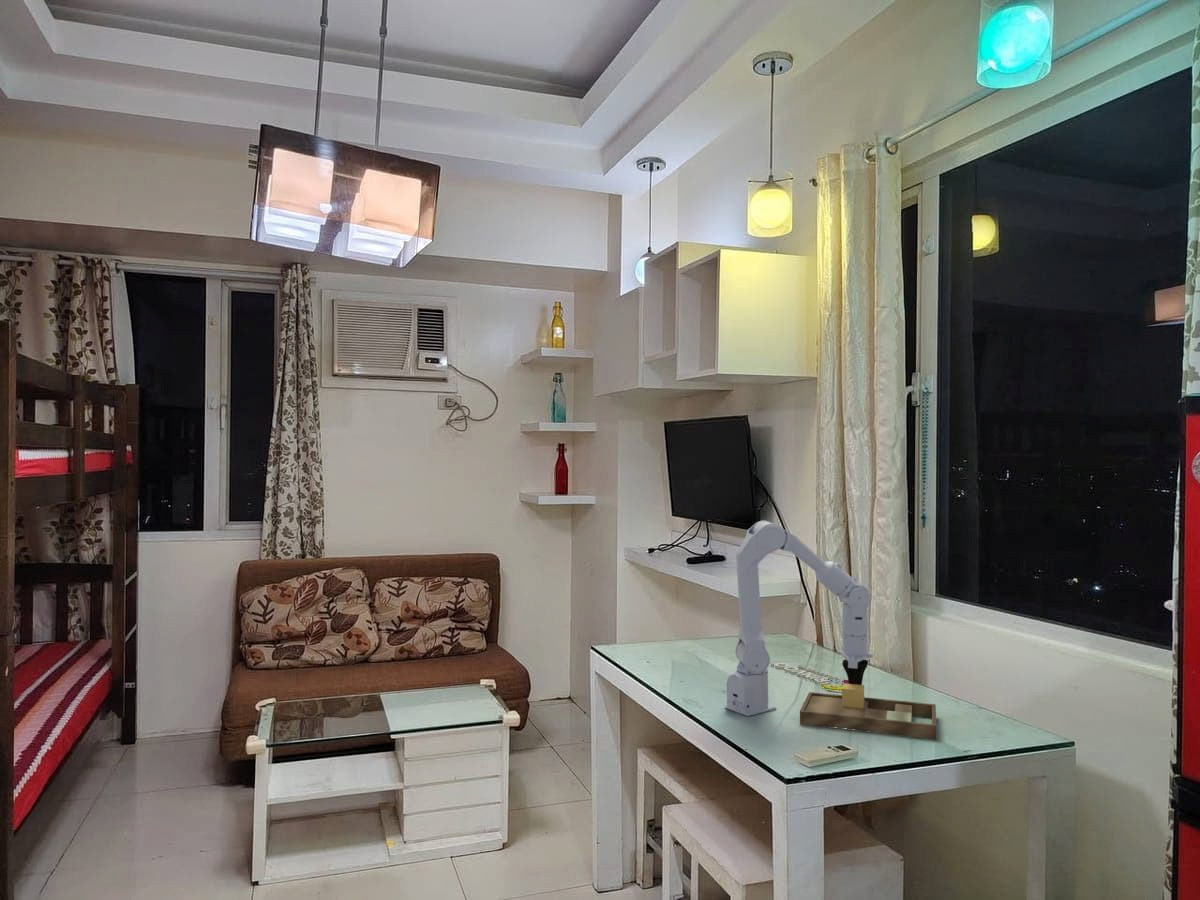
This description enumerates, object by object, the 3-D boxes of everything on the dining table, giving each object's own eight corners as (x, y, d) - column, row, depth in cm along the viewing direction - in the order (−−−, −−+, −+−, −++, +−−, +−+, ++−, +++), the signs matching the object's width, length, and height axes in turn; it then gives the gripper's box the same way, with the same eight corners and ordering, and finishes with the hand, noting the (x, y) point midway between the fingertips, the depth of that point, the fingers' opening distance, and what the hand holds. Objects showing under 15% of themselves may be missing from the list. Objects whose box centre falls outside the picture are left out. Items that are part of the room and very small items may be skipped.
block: (842, 706, 187) (841, 688, 187) (843, 700, 191) (843, 683, 191) (862, 708, 185) (862, 690, 185) (864, 702, 189) (864, 685, 189)
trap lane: (799, 724, 182) (799, 711, 182) (809, 704, 196) (809, 691, 196) (936, 739, 171) (936, 725, 171) (935, 717, 186) (935, 704, 186)
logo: (867, 686, 208) (836, 691, 204) (867, 690, 208) (836, 695, 204) (794, 660, 235) (765, 664, 231) (794, 663, 235) (766, 668, 231)
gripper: (870, 642, 186) (871, 701, 186) (874, 629, 199) (875, 684, 199) (838, 639, 189) (839, 698, 188) (844, 627, 202) (844, 682, 202)
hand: (855, 691), depth 194 cm, fingers closed
